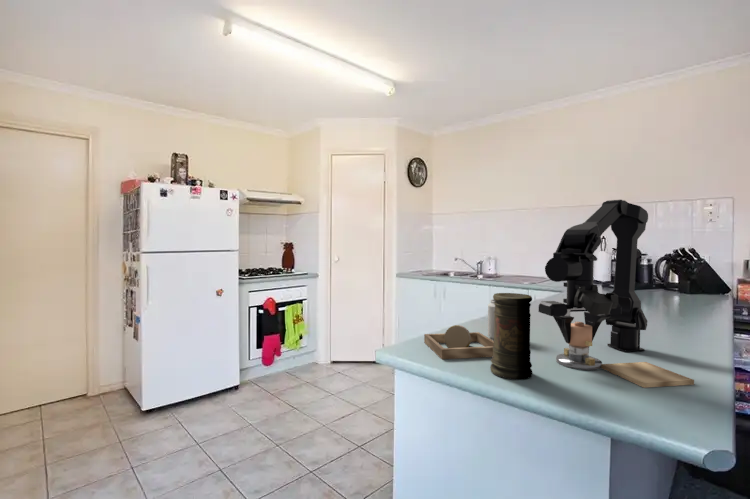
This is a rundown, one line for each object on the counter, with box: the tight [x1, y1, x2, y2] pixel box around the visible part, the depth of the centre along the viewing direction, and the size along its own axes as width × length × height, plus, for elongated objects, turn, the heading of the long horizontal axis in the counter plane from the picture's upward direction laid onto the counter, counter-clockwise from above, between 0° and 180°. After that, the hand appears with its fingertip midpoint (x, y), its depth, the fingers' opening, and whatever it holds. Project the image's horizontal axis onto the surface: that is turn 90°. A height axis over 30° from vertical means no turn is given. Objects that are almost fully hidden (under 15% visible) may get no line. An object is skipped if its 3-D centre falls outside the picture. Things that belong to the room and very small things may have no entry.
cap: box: [567, 321, 593, 347], centre depth 94 cm, size 6×8×5 cm
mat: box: [601, 361, 695, 389], centre depth 86 cm, size 12×12×1 cm
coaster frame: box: [423, 331, 494, 360], centre depth 107 cm, size 17×16×2 cm
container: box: [490, 292, 533, 381], centre depth 87 cm, size 9×9×18 cm
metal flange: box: [555, 344, 603, 371], centre depth 94 cm, size 10×10×5 cm
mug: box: [444, 324, 472, 348], centre depth 107 cm, size 8×10×10 cm
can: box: [487, 298, 495, 341], centre depth 118 cm, size 8×8×12 cm
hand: (578, 342), depth 94 cm, fingers closed on cap, 6 cm apart
